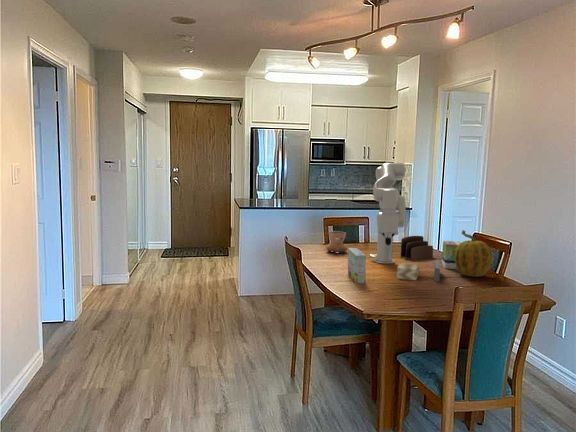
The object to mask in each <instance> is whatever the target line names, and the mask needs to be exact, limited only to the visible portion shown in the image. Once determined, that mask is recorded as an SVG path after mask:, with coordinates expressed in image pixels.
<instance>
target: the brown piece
mask: <svg viewBox="0 0 576 432" xmlns="http://www.w3.org/2000/svg"><path fill="white" fill-rule="evenodd" d="M346 236H347V232H344V231H340V230H332V231H331V230H330V231H328V237H329V240H330V243H328V244H327V245H326V250H327V251H328V252H329V251H333V252H343V253H345V252H348V246H347V245H346V244H345V243H344V241H345V239H346ZM344 251H345V252H344Z"/></svg>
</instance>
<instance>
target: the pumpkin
mask: <svg viewBox="0 0 576 432" xmlns="http://www.w3.org/2000/svg"><path fill="white" fill-rule="evenodd" d="M461 235H463V236H464V237H466V238H468V239H471V240H464V241H462V242H460V244H459V245H458V246H457V248H456V251H455V264H456V268H457V269H456V270H457V271H458V273H460V274H461V275H463V276H466V277H471V278H472V277H473V278H476V277H477V278H478V277H483V276H484V275H485V274H486V273H488V272H489V270H490V268H491V265H492V262H493V254H492V253H493V252H492V250H491V247H490V246H489V245H488V244H487V243H486V242H484V241H483V240H482V241H481V240H476V238H475V237H474V236H473V235H471V234H469V233H468V234H467V233H466V230H464V229H462V230H461Z"/></svg>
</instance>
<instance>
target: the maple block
mask: <svg viewBox="0 0 576 432" xmlns="http://www.w3.org/2000/svg"><path fill="white" fill-rule="evenodd" d="M418 276H419V264H411V263H410V264H409V263H399V265H398V266H397V267H396V279H399V280H400V279H401V280H409V281H410V280H411V281H416V280H417V279H418Z"/></svg>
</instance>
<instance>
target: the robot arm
mask: <svg viewBox="0 0 576 432" xmlns="http://www.w3.org/2000/svg"><path fill="white" fill-rule="evenodd" d="M406 172H407V170H406V165H405V164H404V163H401V162H385V163H383V164H382V165H381V166H379V167H377V168H376V169H375V177H376V178H375V179H376V182H375V183H374V184H373V190H372V191H373V192H372V195H373V199H374V200H375V201H376V202H378V204H379V212H378V213H377V214H376V225H377V226H376V227H377V228H376V229H377V242H376V243H377V244H376V245H377V246H376V247H377V249H376V254H369V258H370V259H373V260H374V261H373V262H375V263H377V264H383V265H384V264H385V265H386V264H387V265H388V264H394V263H396V262H395V259H393V251H394V250H393V247H394V245H393V243H394V236H398V235H399V228H403V227H405V226H406V199H405V196H403V195H401V194H400V191H399V190H398V189H397V188H394V187H393V186H394V185H395V184H396V181H402V180H403V179H404V177H405V176H406Z"/></svg>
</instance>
